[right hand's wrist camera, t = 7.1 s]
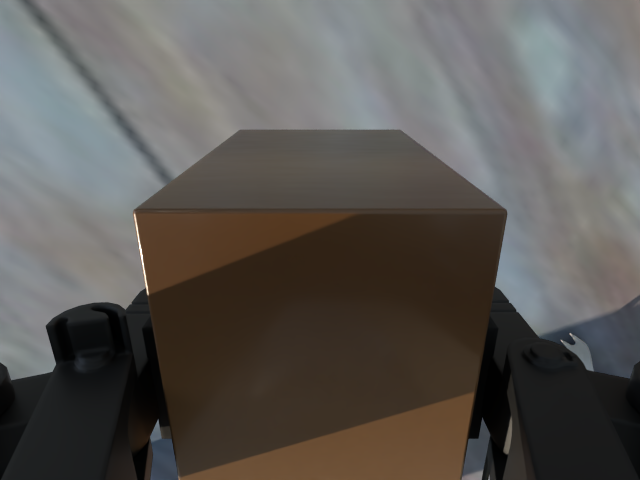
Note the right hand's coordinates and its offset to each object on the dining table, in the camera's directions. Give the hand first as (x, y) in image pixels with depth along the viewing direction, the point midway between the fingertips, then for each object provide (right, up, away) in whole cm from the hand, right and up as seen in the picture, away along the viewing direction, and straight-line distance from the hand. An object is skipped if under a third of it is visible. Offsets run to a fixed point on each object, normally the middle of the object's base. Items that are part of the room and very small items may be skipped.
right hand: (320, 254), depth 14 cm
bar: (0, -6, +3) cm, 7 cm away
